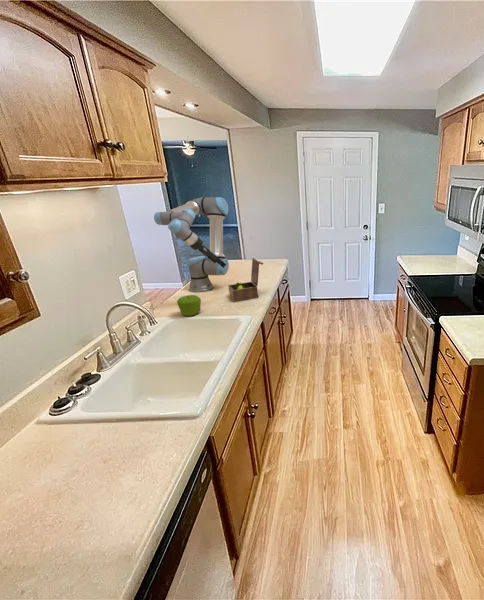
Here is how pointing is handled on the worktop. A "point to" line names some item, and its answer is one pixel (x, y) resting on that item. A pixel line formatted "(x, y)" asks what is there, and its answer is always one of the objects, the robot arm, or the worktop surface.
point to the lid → (255, 271)
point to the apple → (189, 305)
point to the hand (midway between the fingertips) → (220, 264)
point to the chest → (243, 292)
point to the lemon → (240, 286)
